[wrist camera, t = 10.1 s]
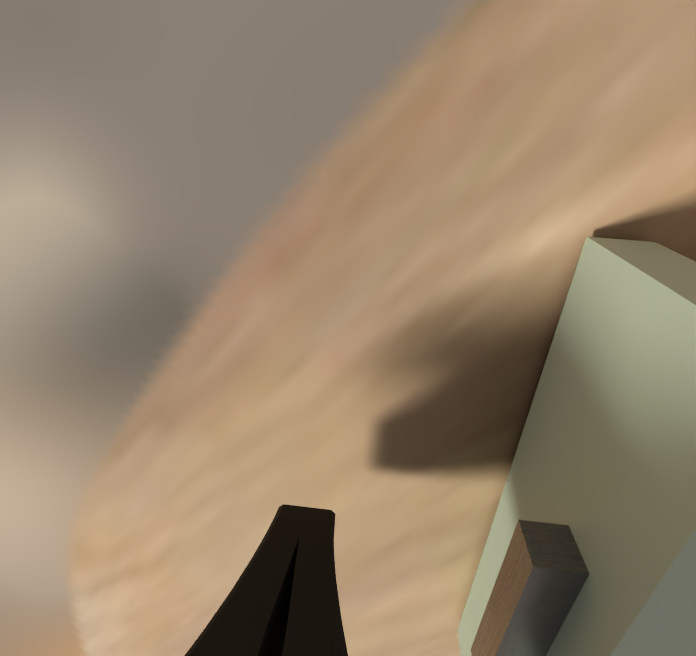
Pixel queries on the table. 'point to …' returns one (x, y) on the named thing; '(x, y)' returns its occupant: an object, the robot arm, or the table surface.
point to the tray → (602, 475)
